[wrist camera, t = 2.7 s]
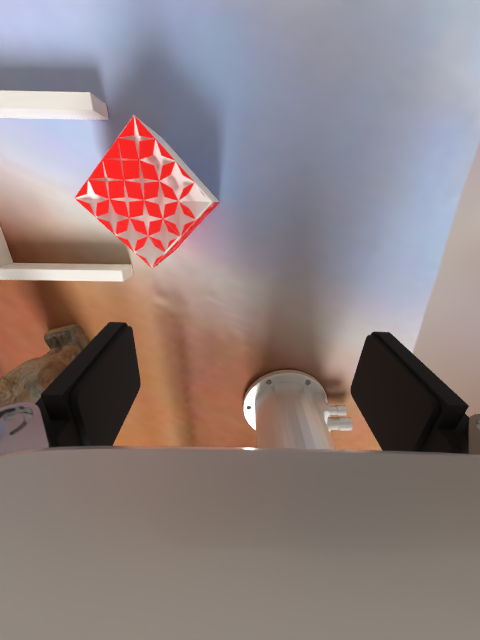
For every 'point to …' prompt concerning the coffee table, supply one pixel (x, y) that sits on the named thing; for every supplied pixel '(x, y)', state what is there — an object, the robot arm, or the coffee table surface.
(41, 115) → the white shallow walled frame
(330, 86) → the coffee table surface
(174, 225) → the red white patterned box
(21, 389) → the worn brown figurine
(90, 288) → the coffee table surface
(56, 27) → the coffee table surface
